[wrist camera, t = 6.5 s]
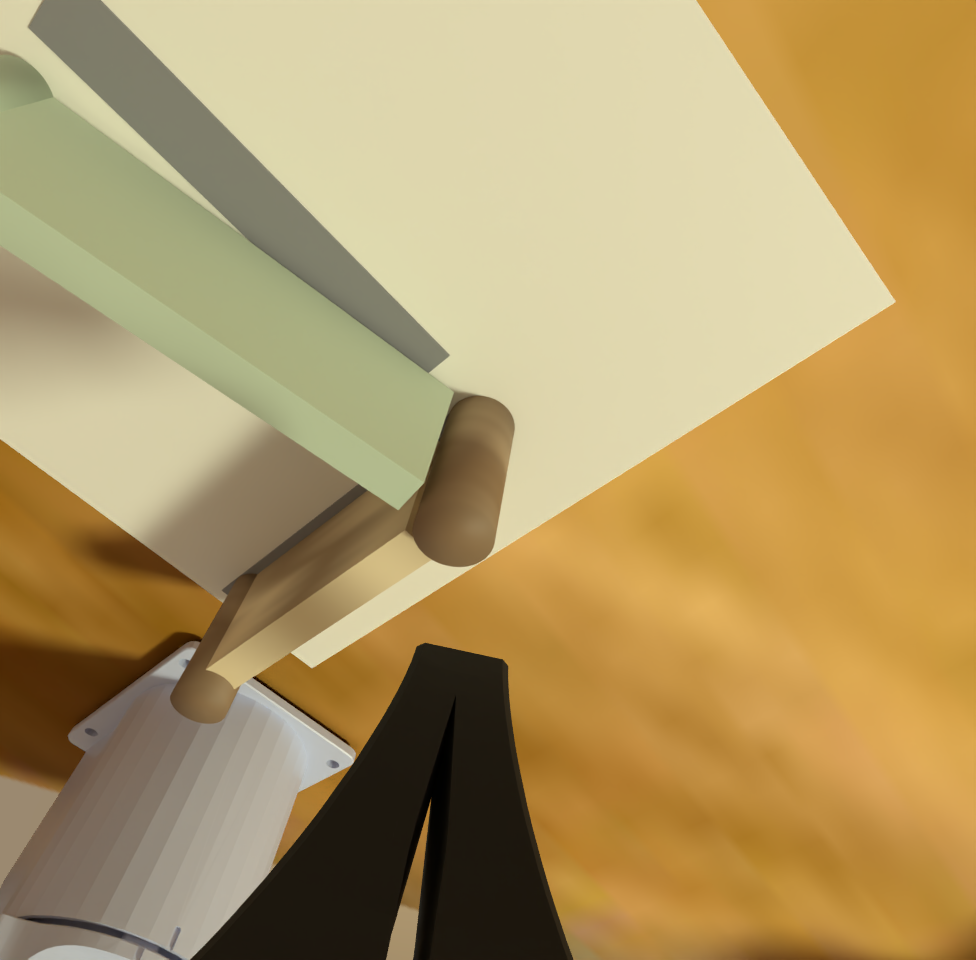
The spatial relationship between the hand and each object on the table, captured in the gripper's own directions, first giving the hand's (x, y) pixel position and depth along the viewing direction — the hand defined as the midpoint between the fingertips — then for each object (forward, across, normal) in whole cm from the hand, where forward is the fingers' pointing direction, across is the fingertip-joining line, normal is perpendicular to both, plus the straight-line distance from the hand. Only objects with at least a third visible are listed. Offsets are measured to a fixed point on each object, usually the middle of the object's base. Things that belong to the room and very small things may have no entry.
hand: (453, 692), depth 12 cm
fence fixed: (+9, +4, +5) cm, 11 cm away
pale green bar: (+9, +7, -2) cm, 12 cm away
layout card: (+10, +6, -2) cm, 12 cm away
